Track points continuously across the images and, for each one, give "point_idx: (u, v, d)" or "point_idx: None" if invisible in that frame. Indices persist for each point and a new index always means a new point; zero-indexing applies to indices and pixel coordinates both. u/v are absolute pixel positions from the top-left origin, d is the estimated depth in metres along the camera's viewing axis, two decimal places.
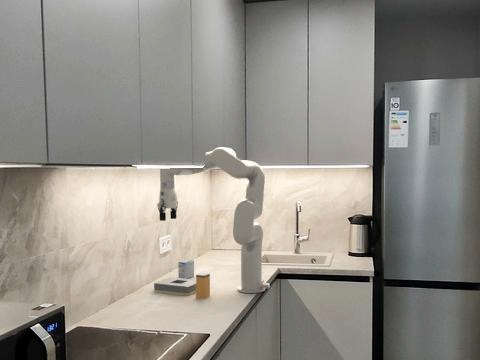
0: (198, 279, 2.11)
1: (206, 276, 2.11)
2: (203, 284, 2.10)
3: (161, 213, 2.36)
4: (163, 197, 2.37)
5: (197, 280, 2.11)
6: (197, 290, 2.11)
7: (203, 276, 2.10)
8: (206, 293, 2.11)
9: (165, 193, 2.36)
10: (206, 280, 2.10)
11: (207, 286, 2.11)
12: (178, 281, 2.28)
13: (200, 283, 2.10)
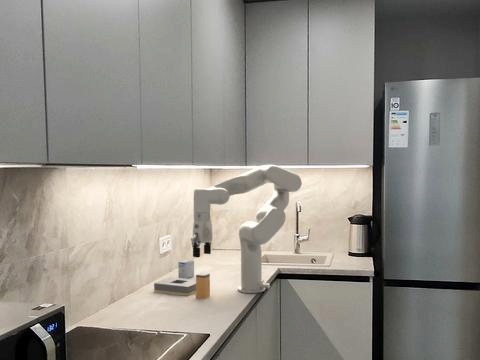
0: (198, 279, 2.11)
1: (206, 276, 2.11)
2: (203, 284, 2.10)
3: (195, 249, 2.07)
4: (197, 230, 2.07)
5: (197, 280, 2.11)
6: (197, 290, 2.11)
7: (203, 276, 2.10)
8: (206, 293, 2.11)
9: (200, 226, 2.07)
10: (206, 280, 2.10)
11: (207, 286, 2.11)
12: (178, 281, 2.28)
13: (200, 283, 2.10)
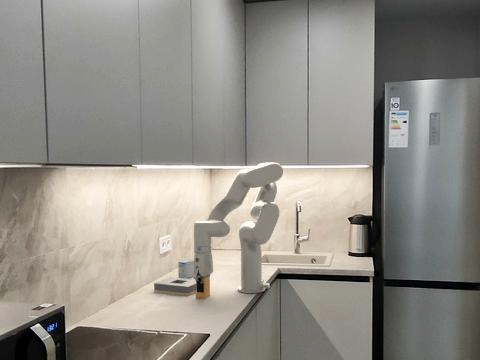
0: None
1: (206, 276, 2.11)
2: None
3: (198, 284, 2.09)
4: (198, 264, 2.07)
5: None
6: None
7: None
8: (206, 293, 2.11)
9: (200, 260, 2.07)
10: (206, 279, 2.10)
11: (207, 286, 2.11)
12: (178, 281, 2.28)
13: None
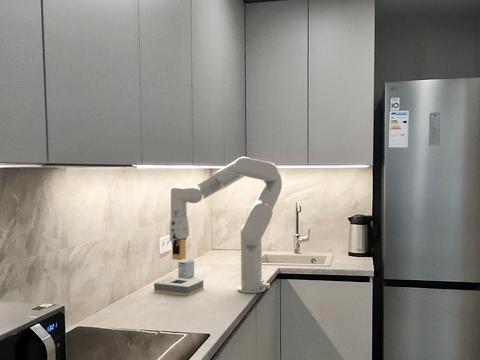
0: None
1: (182, 239, 2.22)
2: (179, 246, 2.21)
3: (174, 246, 2.21)
4: (174, 227, 2.19)
5: None
6: None
7: (179, 239, 2.21)
8: (182, 255, 2.22)
9: (176, 223, 2.19)
10: (181, 242, 2.22)
11: (183, 248, 2.23)
12: (178, 281, 2.28)
13: None
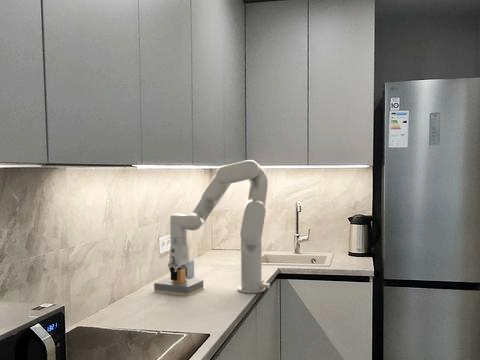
0: None
1: (182, 268, 2.23)
2: (179, 276, 2.22)
3: (172, 272, 2.20)
4: (174, 254, 2.19)
5: None
6: (173, 282, 2.23)
7: (179, 268, 2.22)
8: None
9: (176, 250, 2.19)
10: (181, 272, 2.22)
11: (183, 278, 2.23)
12: None
13: None
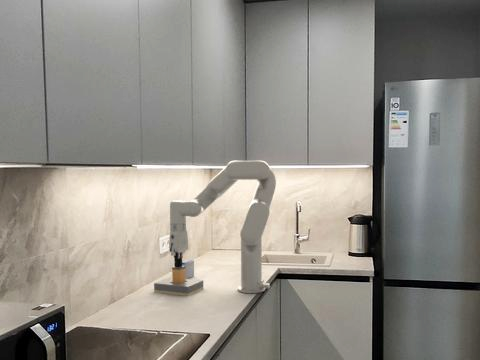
0: (174, 271, 2.23)
1: (181, 268, 2.23)
2: (179, 276, 2.22)
3: (176, 259, 2.23)
4: (173, 241, 2.19)
5: (173, 272, 2.23)
6: (173, 282, 2.23)
7: (179, 268, 2.22)
8: None
9: (175, 236, 2.19)
10: (181, 272, 2.22)
11: (183, 278, 2.23)
12: None
13: (176, 275, 2.22)
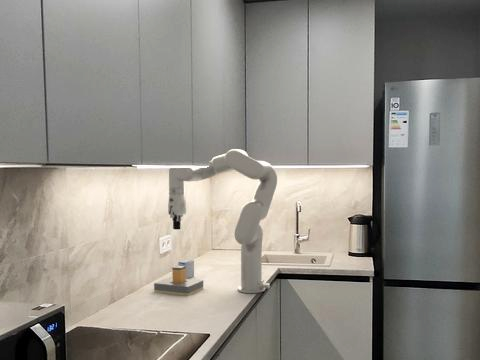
0: (174, 271, 2.23)
1: (182, 268, 2.23)
2: (179, 276, 2.22)
3: (175, 222, 2.35)
4: (172, 204, 2.31)
5: (173, 272, 2.23)
6: (173, 282, 2.23)
7: (179, 268, 2.22)
8: None
9: (174, 200, 2.31)
10: (181, 272, 2.22)
11: (183, 278, 2.23)
12: None
13: (176, 275, 2.22)
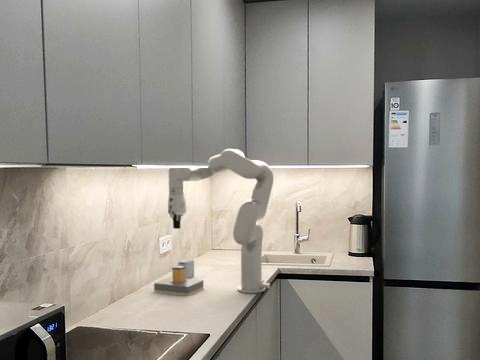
0: (174, 271, 2.23)
1: (182, 268, 2.23)
2: (179, 276, 2.22)
3: (175, 221, 2.38)
4: (172, 203, 2.35)
5: (173, 272, 2.23)
6: (173, 282, 2.23)
7: (179, 268, 2.22)
8: None
9: (174, 199, 2.34)
10: (181, 272, 2.22)
11: (183, 278, 2.23)
12: None
13: (176, 275, 2.22)
